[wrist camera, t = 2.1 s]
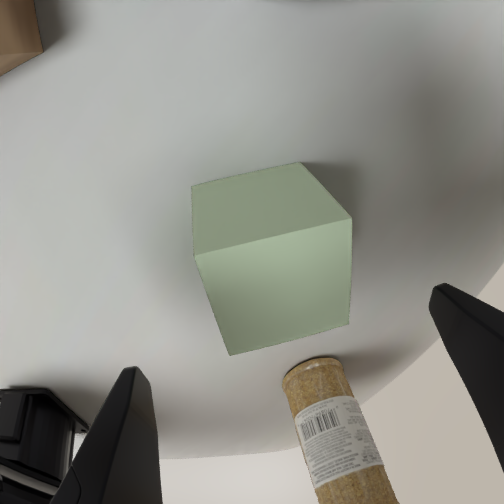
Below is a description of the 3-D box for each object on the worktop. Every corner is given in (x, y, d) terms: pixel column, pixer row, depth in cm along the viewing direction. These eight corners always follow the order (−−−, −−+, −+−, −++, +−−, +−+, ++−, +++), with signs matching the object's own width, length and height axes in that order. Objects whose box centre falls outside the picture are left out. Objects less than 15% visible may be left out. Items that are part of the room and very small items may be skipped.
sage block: (308, 249, 16) (348, 323, 11) (216, 272, 15) (229, 355, 11) (299, 161, 13) (351, 217, 9) (191, 185, 13) (193, 255, 9)
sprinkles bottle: (289, 398, 23) (337, 558, 12) (273, 369, 20) (328, 564, 9) (345, 376, 23) (408, 531, 12) (338, 344, 20) (417, 532, 9)
